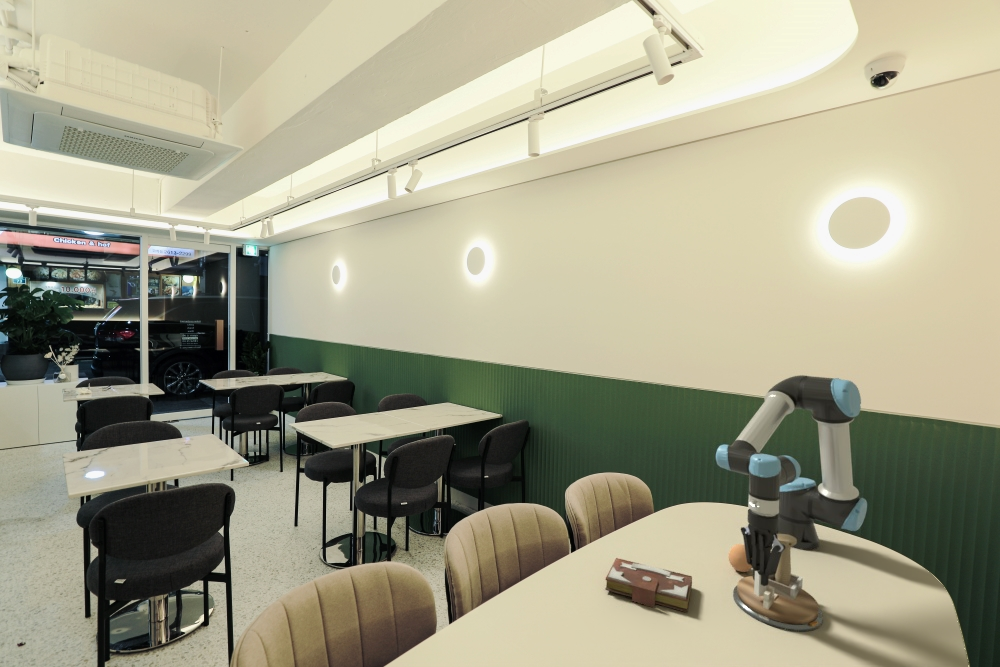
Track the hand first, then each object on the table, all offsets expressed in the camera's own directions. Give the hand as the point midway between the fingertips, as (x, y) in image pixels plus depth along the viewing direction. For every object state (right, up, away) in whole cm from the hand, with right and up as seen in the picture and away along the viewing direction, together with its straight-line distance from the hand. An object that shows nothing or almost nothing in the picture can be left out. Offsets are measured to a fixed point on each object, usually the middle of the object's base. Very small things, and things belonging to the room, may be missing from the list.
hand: (759, 594), depth 132 cm
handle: (+10, -2, +6) cm, 12 cm away
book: (-28, -5, +10) cm, 30 cm away
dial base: (+6, -5, +3) cm, 8 cm away
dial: (+6, -4, +3) cm, 8 cm away
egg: (+6, -5, +22) cm, 23 cm away
